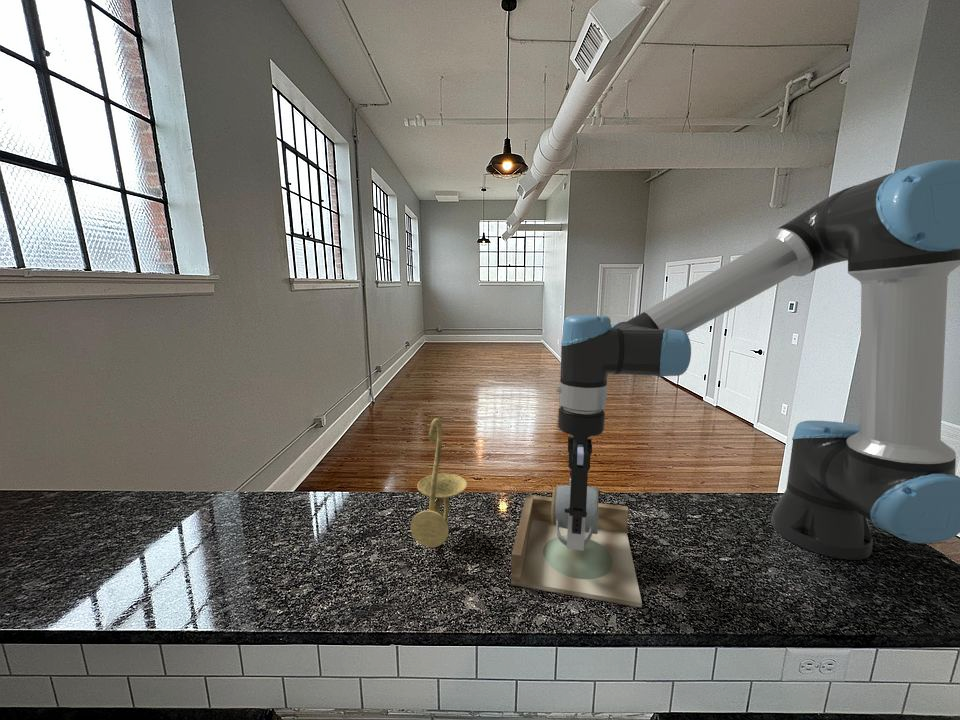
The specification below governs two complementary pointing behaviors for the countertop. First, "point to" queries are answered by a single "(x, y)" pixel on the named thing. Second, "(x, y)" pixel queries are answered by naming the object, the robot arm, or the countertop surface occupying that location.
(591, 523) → the ceramic mug
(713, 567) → the countertop surface
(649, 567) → the countertop surface
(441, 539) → the wall sconce
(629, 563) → the tray
